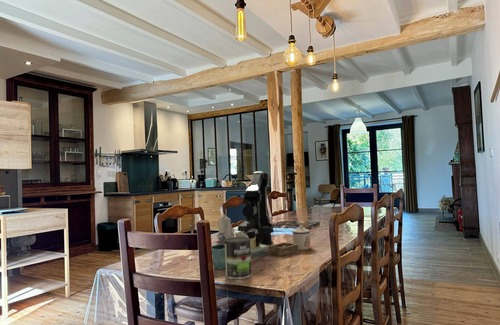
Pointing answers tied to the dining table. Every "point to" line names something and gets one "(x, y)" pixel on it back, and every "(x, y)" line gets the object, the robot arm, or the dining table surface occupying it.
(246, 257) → the coffee can
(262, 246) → the lid
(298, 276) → the dining table surface
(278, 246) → the box
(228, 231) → the chinaware
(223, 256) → the flower pot
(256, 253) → the coaster
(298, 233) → the teacup with lid
